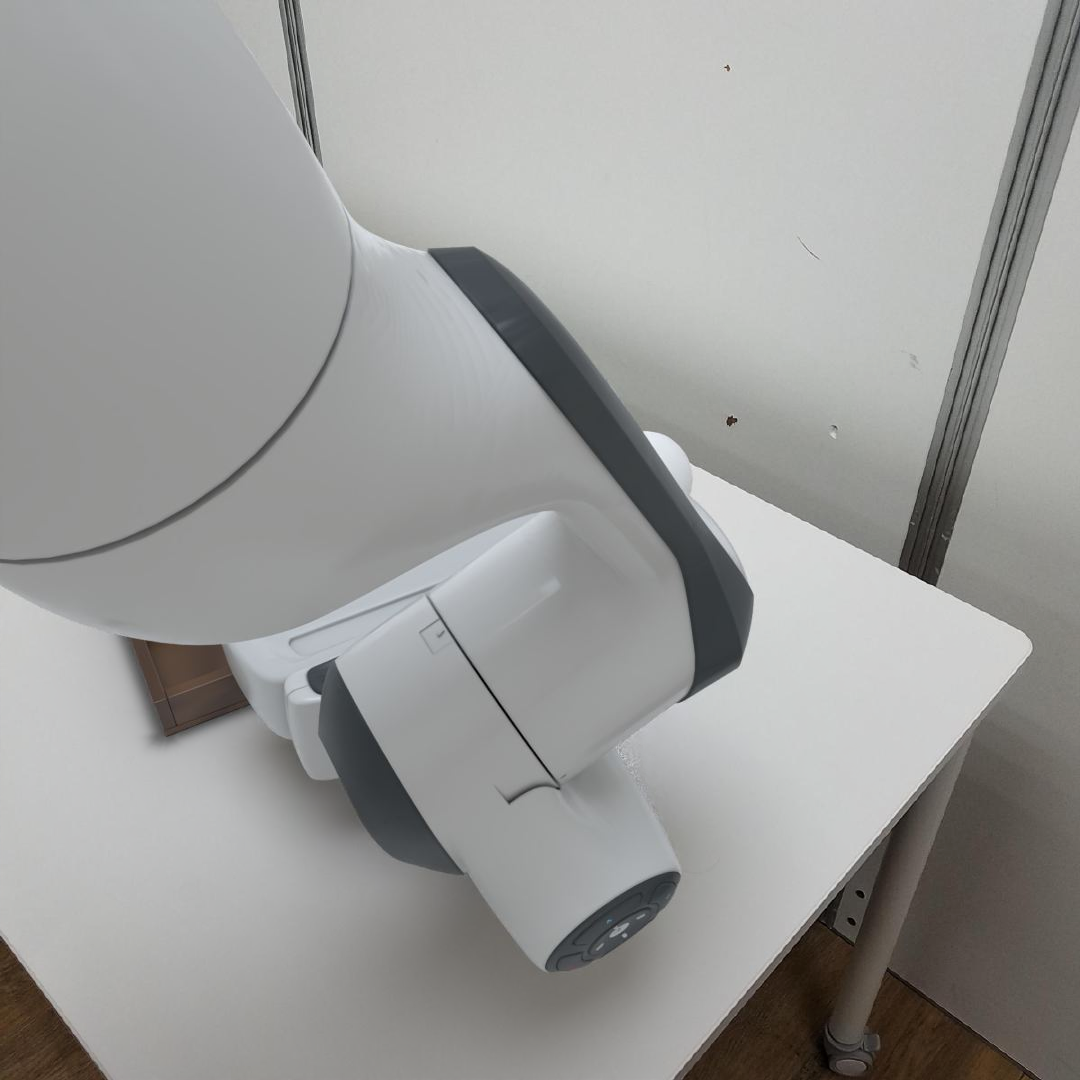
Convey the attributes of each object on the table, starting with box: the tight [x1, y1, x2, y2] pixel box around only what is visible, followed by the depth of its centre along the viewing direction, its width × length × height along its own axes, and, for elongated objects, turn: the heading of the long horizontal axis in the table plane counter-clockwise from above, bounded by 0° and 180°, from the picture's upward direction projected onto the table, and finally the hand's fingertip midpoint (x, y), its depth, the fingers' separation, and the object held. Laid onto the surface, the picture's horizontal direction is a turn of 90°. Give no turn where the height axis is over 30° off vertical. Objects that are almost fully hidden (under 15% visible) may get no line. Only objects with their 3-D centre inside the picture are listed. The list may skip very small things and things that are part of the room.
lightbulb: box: [642, 430, 694, 496], centre depth 72 cm, size 6×6×11 cm
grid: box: [128, 637, 251, 737], centre depth 74 cm, size 19×19×3 cm
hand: (360, 523), depth 66 cm, fingers open, 8 cm apart
